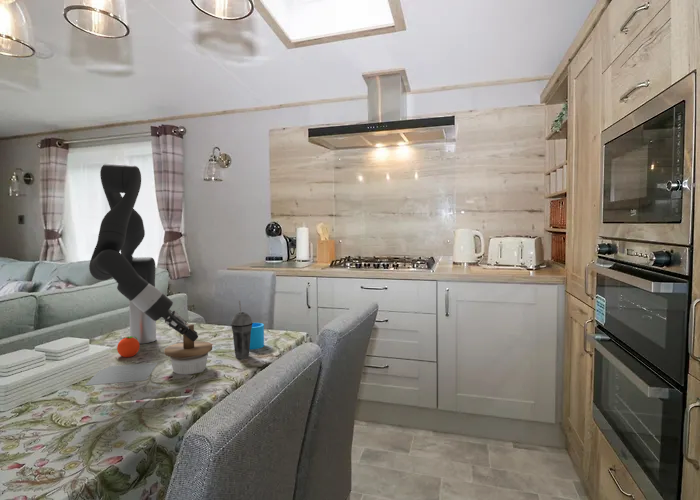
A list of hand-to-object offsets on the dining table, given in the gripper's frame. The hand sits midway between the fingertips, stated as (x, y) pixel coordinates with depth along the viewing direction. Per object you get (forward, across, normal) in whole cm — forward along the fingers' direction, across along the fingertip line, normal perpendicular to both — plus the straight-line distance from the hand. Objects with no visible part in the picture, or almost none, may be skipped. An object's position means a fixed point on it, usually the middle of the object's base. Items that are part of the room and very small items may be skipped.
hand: (195, 337), depth 129 cm
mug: (+23, +20, -8) cm, 32 cm away
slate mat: (-7, +4, +22) cm, 23 cm away
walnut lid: (+1, 0, +4) cm, 5 cm away
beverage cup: (+18, +7, -4) cm, 20 cm away
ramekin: (+6, 0, +9) cm, 11 cm away
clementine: (-7, +24, +22) cm, 33 cm away
